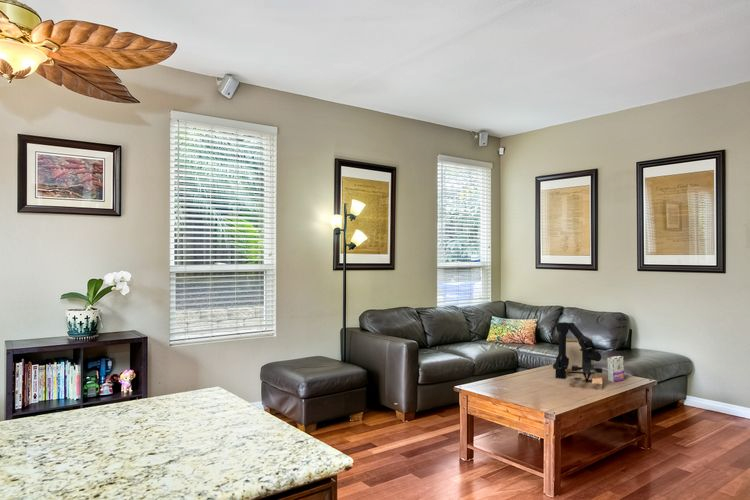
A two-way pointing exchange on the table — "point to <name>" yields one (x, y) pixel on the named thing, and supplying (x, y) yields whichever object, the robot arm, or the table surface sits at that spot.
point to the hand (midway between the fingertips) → (587, 382)
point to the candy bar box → (615, 368)
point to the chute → (584, 383)
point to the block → (597, 379)
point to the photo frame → (574, 354)
